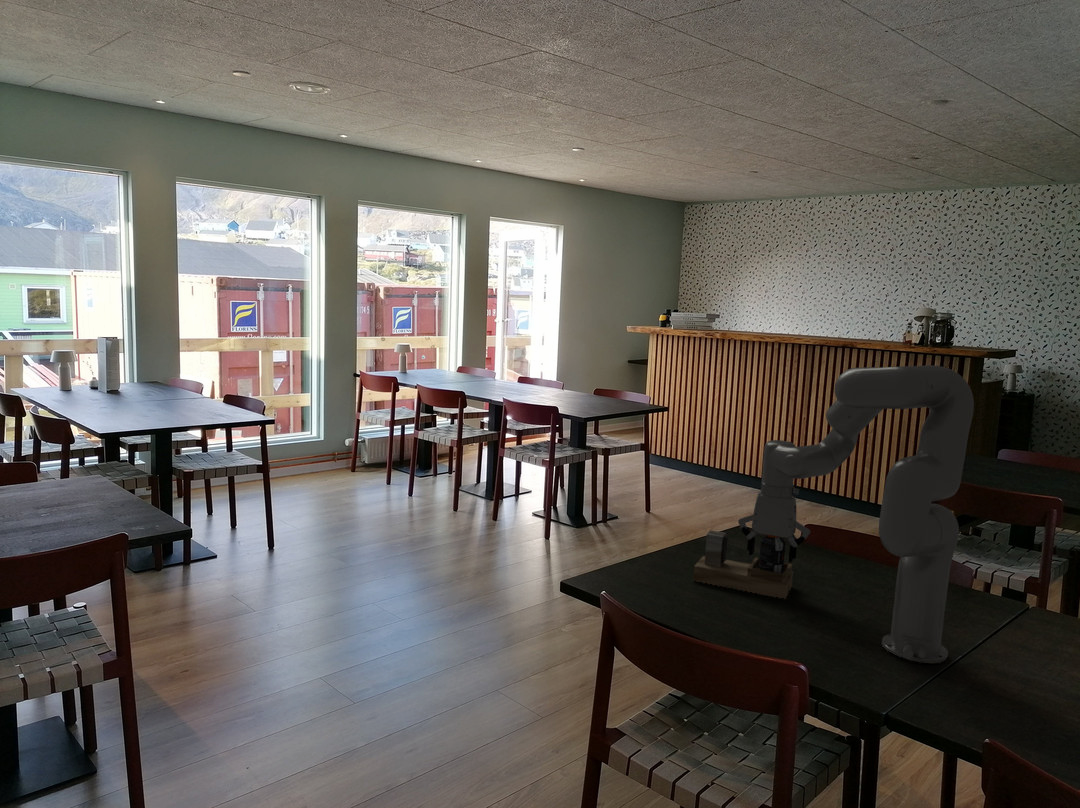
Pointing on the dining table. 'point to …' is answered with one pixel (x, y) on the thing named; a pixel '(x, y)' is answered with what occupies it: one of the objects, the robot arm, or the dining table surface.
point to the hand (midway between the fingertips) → (771, 557)
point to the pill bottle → (772, 554)
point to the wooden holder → (739, 571)
